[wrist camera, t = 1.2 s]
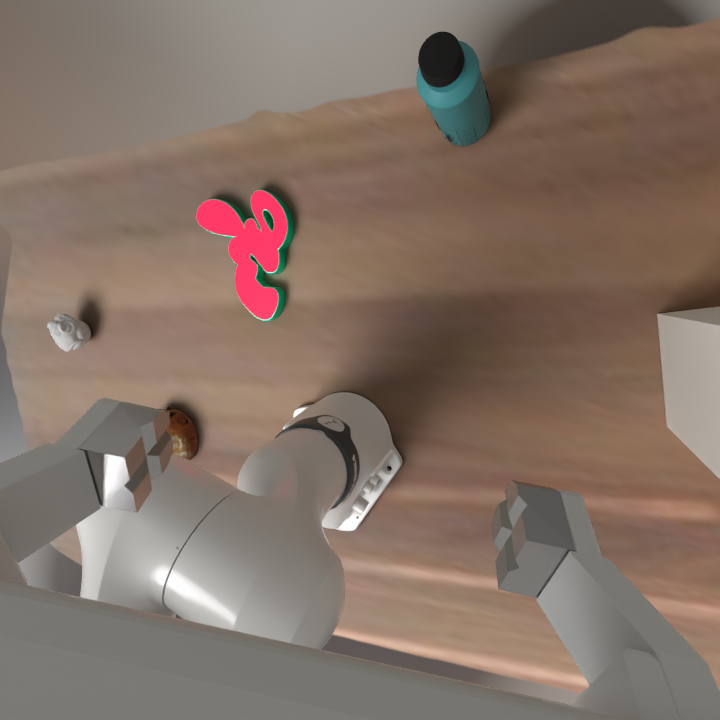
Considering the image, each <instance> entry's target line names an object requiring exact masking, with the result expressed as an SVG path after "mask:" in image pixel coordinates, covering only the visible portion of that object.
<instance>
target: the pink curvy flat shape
mask: <svg viewBox="0 0 720 720" xmlns="http://www.w3.org/2000/svg"><path fill="white" fill-rule="evenodd" d="M250 205H251V209H252V212H253V215H254V217H255V219H254V218H248V219H247V218H246V216H245V215H244V214H243V212H242V211H241V210H240V209H239V208H238V207H236V206H235V205H234V204H232V203H230V202H227V201H223V200H220V199H208V200H206V201H204V202H203V203H201V204H200V206H199V207H198V209H197V212H196V220H197V222H198V224H199V225H200V227H202V228H203V229H204V230H206V231H208V232H210V233H213V234H216V235H220V236H226V237H231V238H232V239H231V240H230V242H229V244H228V253H229V256H230V258H231V259H232V261H233V262H234V263H235V264H236V265H237V267H236V270H235V276H234V283H235V289H236V292H237V295H238V297H239V299H240V301H241V302H242V304H243V305H244V306H245V308H246V309H247V310H248V311H249V312H250V313H251V314H252V315H253V316H255V317H256V318H258V319H260V320H263V321H269V320H274V319H276V318H278V317H279V316H280V314H281V312H282V310H283V307H284V303H285V293H284V291H283V290H282V289H281V288H280V287H270V286H269V285H268V284H267V283H266V282H265V281H264V280H263V276H264V271H265V272H266V273H269V274H279V273H281V272H283V270H284V268H285V264H286V255H285V250H286V249H287V248H288V246H289V245H290V243H291V241H292V238H293V234H294V222H293V218H292V215H291V213H290V211H289V209H288V207H287V206H286V204H285V203H284V202H283V201H282V200H281V199H280V198H279V197H278V196H276V195H275V194H273V193H271V192H268V191H265V190H262V189H258V190H256V191H254V193H253V194H252V196H251V199H250ZM270 215H271V216H272V219H273V222H272V220H271V218H270Z"/></svg>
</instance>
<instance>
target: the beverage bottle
mask: <svg viewBox="0 0 720 720" xmlns="http://www.w3.org/2000/svg"><path fill="white" fill-rule="evenodd" d="M418 58H419V59H418V62H419V68H418V72H417V88H418V91H419V94H420V96H421V98H422V99H423V101H424V102H425V103H426V105H427V107H428V108H429V110H430V112H431V114H432V116H433V117H434V119H435V120H434V121H436V123H435V124H437V126H438V129H439V130H440V129H441V131H442V133H443V134H444V136H445V137H446V138H445V137H444V138H445V139H447V140H448V141H450V142H451V143H453V144H454V145H455V146H456V145H459V146H466V145H470V144H471V145H472V144H474V143H476V141H478V140H479V139H480V138H481V137H482V136H483V135H484V134H485V132H486V131H487V129H488V126H489V124H491V123H490V119H491V117H492V116H491V112H490V109H491V108H490V107H489V103H488V101H489V98H488V94H487V91H485V87H484V84H485V83H483V81H484V80H482V76H481V72H480V68H479V61H478V58H477V55H476V53H475V52H474V50H473V49H472V48H471V47H470V46H469V45H467V44H466V43H464V42H461V41H458V40H457V39H456V37H455V36H454V35H452V34H450V33H448V32H438V33H435V34H433V35H431V36H430V37H429V38H428V39H426V41H425V42H424V43H423V45H422V47H421V49H420V52H419V57H418ZM486 94H487V95H486ZM487 98H488V99H487ZM490 106H491V105H490ZM427 110H428V109H427ZM491 110H492V109H491ZM442 133H441V134H442ZM453 144H452V145H453Z"/></svg>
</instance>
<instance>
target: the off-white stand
mask: <svg viewBox="0 0 720 720" xmlns="http://www.w3.org/2000/svg"><path fill="white" fill-rule="evenodd" d="M657 318H658V330H659V341H660V353H661V364H662V376H663V388H664V399H665V411H666V422H667V427H668V428H669V429H670V430H671V431H672V432H673V433H674V434H675V435H676V436H677V437H678V438H679V439H680V440H681V441H682V442H683V443H684V444H685V445H686V446H687V447H688V448H689V449H690V450H691V451H692V452H693V453H694V454H695V455H696V456H697V457H698V458H699V459H700V460H701V461H702V462H703V463H704V464H705V465H706V466H707V467H708V468H709V469H710V470H711V471H712V472H713V473H714V474H715V475H716V476H717V477H718V478H719V479H720V306H719V307H710V308H702V309H694V310H685V311H677V312H669V313H661V314H657Z"/></svg>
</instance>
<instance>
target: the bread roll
mask: <svg viewBox="0 0 720 720" xmlns="http://www.w3.org/2000/svg"><path fill="white" fill-rule="evenodd" d="M159 410H161V409H159ZM166 412H168V414H169V419H170V424H169V426H168V427H167V429H166V431H167V432H168V433H169V434H170V435H171V436H172V440H173V450H172V454H173V455H176V456H179V457H182V458H185V459H188V460H190V459H191V458H192V457H193V456H194V454H195V452H196V450H197V447H198V441H197V440H198V439H197V433H196V429H195V426H194V424H193V422H192V421H191V419H190V418H189V417H188V416H187V415H186V414H185V413H183V412H182V411H179V410H175V409H172V408H170V407H168V408H167V409H166Z"/></svg>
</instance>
